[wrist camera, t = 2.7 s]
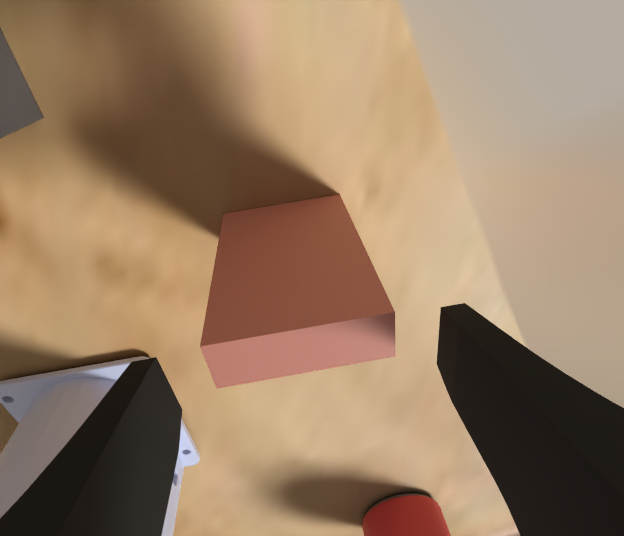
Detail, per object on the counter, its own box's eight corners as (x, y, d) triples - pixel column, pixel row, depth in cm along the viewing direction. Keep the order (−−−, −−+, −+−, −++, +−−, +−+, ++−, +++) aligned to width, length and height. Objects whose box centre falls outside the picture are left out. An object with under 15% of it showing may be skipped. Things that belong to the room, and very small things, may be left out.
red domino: (342, 227, 17) (395, 356, 11) (232, 246, 17) (216, 388, 11) (339, 194, 17) (395, 312, 10) (223, 213, 16) (200, 346, 10)
